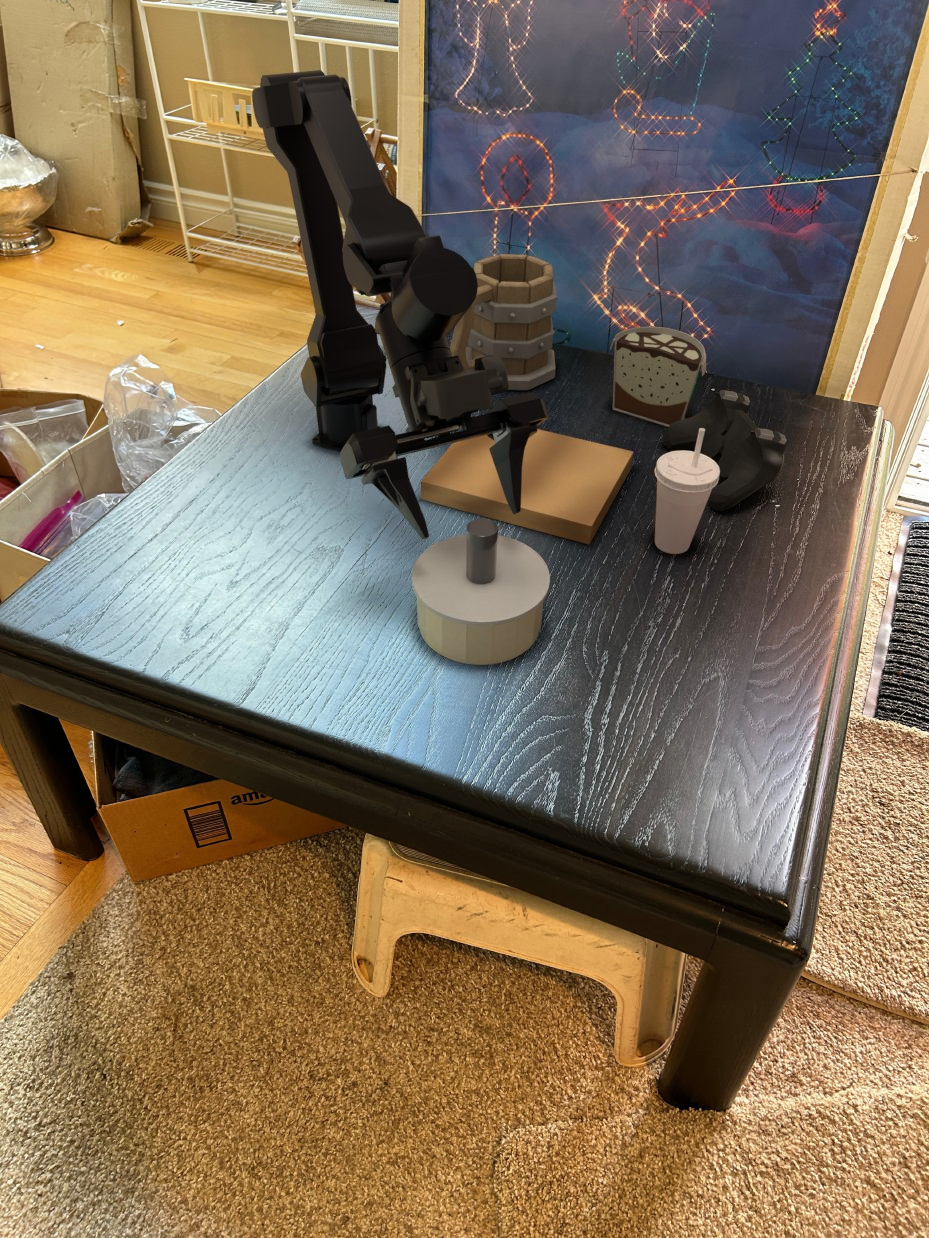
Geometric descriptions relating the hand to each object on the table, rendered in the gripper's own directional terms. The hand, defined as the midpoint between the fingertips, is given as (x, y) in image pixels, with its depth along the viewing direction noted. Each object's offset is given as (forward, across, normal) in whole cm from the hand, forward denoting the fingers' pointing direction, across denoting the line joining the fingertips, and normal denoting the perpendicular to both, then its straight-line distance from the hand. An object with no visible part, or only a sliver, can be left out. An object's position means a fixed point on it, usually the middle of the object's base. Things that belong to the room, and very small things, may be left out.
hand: (472, 525), depth 82 cm
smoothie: (+7, +24, +8) cm, 26 cm away
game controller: (+1, +37, +14) cm, 40 cm away
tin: (+9, 0, +6) cm, 10 cm away
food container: (-10, +39, +25) cm, 47 cm away
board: (-5, +16, +19) cm, 25 cm away
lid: (+5, 0, +2) cm, 5 cm away
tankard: (-22, +23, +37) cm, 49 cm away
